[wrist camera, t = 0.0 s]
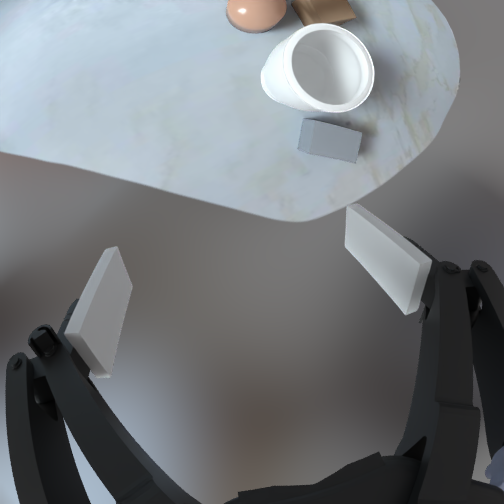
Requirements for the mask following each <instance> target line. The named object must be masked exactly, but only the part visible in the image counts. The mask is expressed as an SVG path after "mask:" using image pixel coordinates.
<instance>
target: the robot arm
mask: <svg viewBox="0 0 504 504" xmlns="http://www.w3.org/2000/svg"><path fill="white" fill-rule="evenodd" d="M345 247H346V248H347V249H348V250H349V252H350V253H351V254H352V255H353V256H354V257H355V258H356V259H357V260H358V261H359V262H360V263H361V264H362V265H363V267H364V268H365V269H366V270H367V271H368V272H369V273H370V274H371V276H372V277H373V278H374V279H375V280H376V281H377V282H378V283H379V284H380V286H381V287H382V288H383V289H384V290H385V291H386V293H387V294H388V295H389V296H390V297H391V298H392V299H393V301H394V302H395V303H396V304H397V306H398V307H399V308H400V309H401V310H402V311H403V313H404V314H405V315H407V314H410V313H412V312H415V311H417V310H418V307H419V304H420V301H422V302H423V303H424V304H425V307H424V310H423V313H422V316H421V318H420V321H419V323H421V322H422V320H423V323H422V335H421V346H420V355H419V362H418V369H417V375H416V381H415V388H414V393H413V398H412V403H411V407H410V412H409V416H408V421H407V424H406V428H405V432H404V435H403V438H402V440H401V442H400V443H399V445H398V447H397V449H396V451H395V454H394V456H382V457H381V455H380V453H379V452H377V453H375V454H372V455H370V456H368V457H365V458H363V459H361V460H358V461H356V462H353V463H351V464H348V465H346V466H345V467H343V468H342V469H340V470H338V471H337V472H335V473H334V474H332V475H330V476H329V477H327V478H325V479H323V480H322V481H320V482H318V483H316V484H313V485H299V486H298V485H296V486H271V487H266V488H260V489H255V490H248V491H241V492H238V496H239V497H237V498H234V499H232V500H230V501H228V502H226V503H224V504H504V287H503V285H502V283H501V282H500V280H499V278H498V277H497V275H496V274H495V272H494V270H493V269H492V267H491V266H490V265H488V264H487V263H486V262H483V261H480V260H474V261H473V262H472V264H471V267H470V270H461V268H459V266H457V265H456V264H454V263H452V262H448V261H443V262H439V261H438V260H436V259H435V258H434V257H433V256H432V255H430V254H429V253H428V252H427V251H426V250H424V249H423V248H422V247H421V246H419V245H418V244H417V243H415V242H414V241H413V240H411V239H409V238H407V237H404V236H401V235H400V234H399V233H398V232H396V231H395V230H394V229H392V228H391V227H390V226H388V225H386V223H384V222H383V221H382V220H380V219H379V218H377V217H376V216H375V215H373V214H372V213H371V212H369V211H368V210H366V209H365V208H363V207H362V206H361V205H359V204H351V205H347V213H346V234H345ZM132 288H133V286H132V283H131V281H130V279H129V276H128V273H127V271H126V268H125V266H124V263H123V260H122V258H121V255H120V252H119V250H118V247H112V248H107V249H105V251H104V253H103V254H102V256H101V258H100V260H99V262H98V264H97V265H96V267H95V269H94V271H93V273H92V275H91V277H90V279H89V281H88V283H87V285H86V287H85V289H84V291H83V293H82V295H81V297H80V299H76V300H75V301H74V302H73V303H72V305H71V306H70V307H69V310H68V311H67V315H66V316H65V318H64V321H63V322H62V325H61V327H60V329H59V331H58V334H57V335H56V333H55V332H54V330H53V329H52V327H51V326H50V325H47V324H46V325H41V326H39V327H37V328H36V329H35V330H34V331H33V332H32V333H31V335H30V336H29V339H28V344H29V346H30V347H31V348H32V350H33V351H34V352H35V354H36V355H37V356H38V357H35V358H33V359H30V360H29V359H28V357H27V356H26V355H25V354H24V353H21V352H20V353H17V354H15V355H13V356H12V358H10V360H9V362H8V364H7V369H6V424H7V436H8V446H9V454H10V461H11V466H12V472H13V477H14V482H15V486H16V491H17V494H18V499H19V502H20V504H91V503H90V501H89V498H88V496H87V493H86V491H85V488H84V486H83V483H82V480H81V478H80V475H79V472H78V469H77V466H76V463H75V460H74V457H73V454H72V450H71V447H70V443H69V439H68V436H67V432H66V428H65V423H64V420H65V422H66V424H67V425H68V428H69V429H70V431H71V433H72V435H73V437H74V439H75V440H76V442H77V444H78V446H79V447H80V449H81V451H82V452H83V454H84V456H85V457H86V459H87V461H88V462H89V464H90V465H91V467H92V468H93V470H94V471H95V472H96V474H97V476H98V477H99V479H100V480H101V481H102V483H103V484H104V485H105V487H106V488H107V490H108V491H109V492H110V493H111V495H112V496H113V498H114V499H115V501H116V504H201V503H200V502H199V501H197V500H196V499H194V498H193V497H192V496H190V495H189V494H188V493H186V492H185V491H184V490H183V489H182V488H181V487H179V486H178V485H177V484H176V483H175V482H174V481H173V480H172V479H171V478H170V477H169V476H168V475H167V474H166V473H165V472H164V471H163V470H162V469H161V468H160V467H159V466H158V465H157V464H156V463H155V462H154V461H153V460H152V459H151V458H150V457H149V455H148V454H147V453H146V452H145V451H144V450H143V449H142V448H141V447H140V445H139V444H138V443H137V442H136V441H135V439H134V438H133V437H132V436H131V435H130V433H129V432H128V431H127V430H126V429H125V427H124V426H123V425H122V423H121V422H120V421H119V419H118V418H117V417H116V416H115V414H114V413H113V411H112V410H111V409H110V407H109V406H108V404H107V403H106V402H105V400H104V399H103V398H102V396H101V394H100V393H99V391H98V390H97V388H96V387H95V385H94V384H93V382H92V381H91V380H90V378H89V377H88V376H89V372H90V370H91V372H92V373H93V374H94V375H95V377H96V378H110V377H111V375H112V370H113V365H114V360H115V355H116V350H117V346H118V341H119V337H120V333H121V329H122V325H123V320H124V316H125V313H126V309H127V305H128V301H129V297H130V295H131V291H132ZM481 302H482V309H481V307H480V304H481ZM473 365H474V369H475V373H476V378H477V382H478V387H479V391H480V397H481V402H482V408H483V414H484V421H485V429H486V436H487V444H488V448H489V453H490V456H491V459H492V461H491V464H489V466H487V468H486V470H485V475H486V477H487V478H488V479H491V480H490V484H487V483H483V482H480V481H476V480H473V479H472V474H473V470H474V464H475V459H476V453H477V445H478V438H479V429H480V410H479V408H478V407H474V406H473V402H472V399H473ZM63 418H64V419H63Z"/></svg>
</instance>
